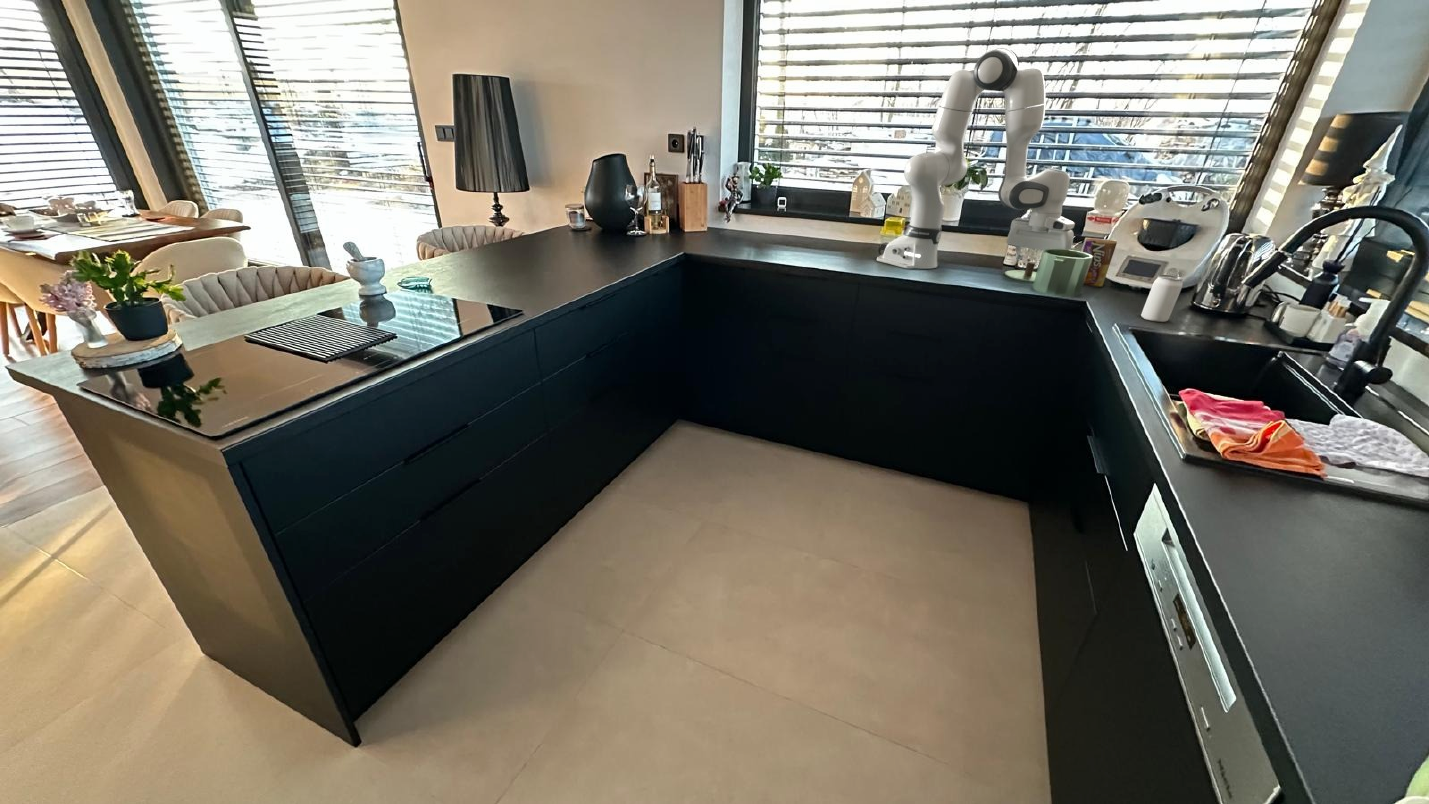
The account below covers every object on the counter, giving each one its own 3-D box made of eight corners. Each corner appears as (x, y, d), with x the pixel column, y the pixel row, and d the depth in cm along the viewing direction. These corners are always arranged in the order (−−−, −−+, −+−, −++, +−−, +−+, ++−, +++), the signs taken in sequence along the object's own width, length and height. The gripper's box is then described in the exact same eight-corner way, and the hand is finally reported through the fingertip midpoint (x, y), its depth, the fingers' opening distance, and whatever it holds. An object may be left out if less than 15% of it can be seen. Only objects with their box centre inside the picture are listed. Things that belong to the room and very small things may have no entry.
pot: (1024, 293, 179) (1035, 254, 174) (1041, 282, 192) (1052, 245, 186) (1071, 302, 171) (1084, 262, 165) (1086, 290, 184) (1099, 252, 178)
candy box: (1100, 285, 190) (1116, 239, 183) (1102, 288, 187) (1118, 242, 180) (1070, 281, 194) (1085, 236, 187) (1072, 284, 190) (1086, 239, 183)
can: (1157, 315, 162) (1173, 274, 156) (1173, 322, 156) (1191, 280, 151) (1135, 314, 162) (1151, 274, 156) (1150, 322, 156) (1167, 280, 150)
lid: (998, 278, 195) (1002, 262, 193) (1012, 271, 205) (1016, 255, 202) (1043, 286, 187) (1048, 270, 184) (1055, 279, 196) (1060, 262, 194)
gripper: (1008, 217, 192) (999, 257, 198) (1072, 225, 178) (1059, 269, 184) (1017, 216, 196) (1007, 255, 202) (1080, 224, 181) (1067, 266, 188)
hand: (1032, 262), depth 193 cm, fingers open, 8 cm apart
